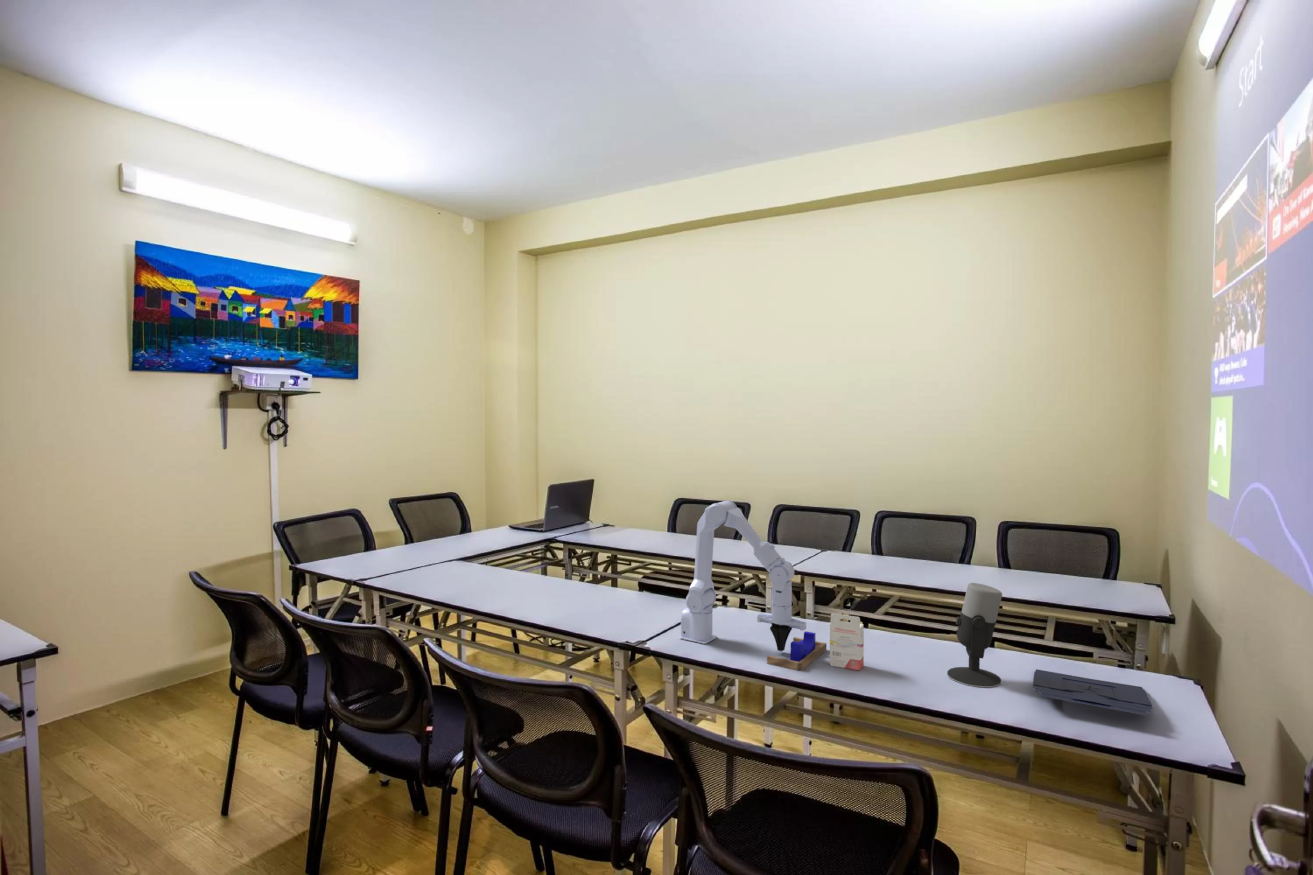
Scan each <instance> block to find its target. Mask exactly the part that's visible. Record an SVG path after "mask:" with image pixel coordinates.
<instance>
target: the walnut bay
mask: <svg viewBox="0 0 1313 875" xmlns="http://www.w3.org/2000/svg"><path fill="white" fill-rule="evenodd" d="M792 641H794V642H799V641H803V637H795V636H794V637H793V638H792ZM826 651H827V643H826V642H821V641H817V640H815V650H813V651H812V652H811V653H810V654H808V655H807V656H806V657H805V658H803V659H802V660H801V661H799V662H797V661H793V660H790V659H788V658H784V657H778V656H773V655H767V656H766V657H767V658H766V659H767V660H766V661H767V662H766V663H767V664H768V665H771V666H772V665H773V666H775V667H776V666H777V667H781V668H786V669H790V670H795V671H799V672H801V671H803V670H804V669H805V668H807V667H808V666H809V665H810V664H811V663H812V662H814V661H815V660H816V659H818V657H820V656H821V655H822V654H823V653H824V652H826Z"/></svg>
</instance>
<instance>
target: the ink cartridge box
mask: <svg viewBox="0 0 1313 875" xmlns="http://www.w3.org/2000/svg"><path fill="white" fill-rule="evenodd" d="M844 619H846V620H847V621H843V620H844ZM864 637H865V636H864V624H863V623H861V618H860V616H853V615H847V614H837V613H831V614H830V624H829V665H830V666H831V667H836V668H843V669H849V670H855V671H861V670H862V668H863V667H864V659H865V658H864V657H865V656H864V654H865V653H864V652H865V651H864V650H865V648H864V644H865V643H864V640H865V639H864Z"/></svg>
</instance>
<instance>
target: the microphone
mask: <svg viewBox="0 0 1313 875" xmlns="http://www.w3.org/2000/svg"><path fill="white" fill-rule="evenodd" d="M1002 597H1003V593H1002V591H1001V590H999V589H997V588H995V587H993V586H989V585H986V584H983V583H978V582H970V583H968V584H967V588H966V591H965V596H964V600H963V604H962V607H961V612H960V616H957V617H956V620H955V625H957V629H955V632H956V638H957V640H958V642H959V643H960V644H961V645H962V646H963V647H965V651H966V654H967V656H968V666H956V667H950V668H949V669H948V670H947V674H946V675H947V677H948V678H949V679H951V680H952V681H953V682H955V683H958V684H961V685H965V686H968V687H973V688H974V687H975V688H995V687H998V686H1000V685H1001V684H1002V679H1001V677H1000V676H999V675H998V674H996V673H994V672H992V671H989V670H986V669H982V668H980V660H981V659H984V657H985V650H987V649H988V648H989V647H990V646H991V644H992V641H993V636H994V631H995V627H996V625H997V617H998V614H999V610H1000V605H1001V601H1002V599H1003V598H1002Z"/></svg>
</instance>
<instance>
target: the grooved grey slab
mask: <svg viewBox="0 0 1313 875" xmlns="http://www.w3.org/2000/svg"><path fill="white" fill-rule="evenodd" d="M1032 679H1033V681H1032V689H1034V692H1035V693H1039V695H1040V697H1045V698H1050V699H1054V700H1061V701H1066V702H1070V703H1071V702H1072V703H1077V704H1082V705H1087V706H1094V707H1099V708H1103V709H1108V710H1109V709H1110V710H1115V711H1119V712H1120V711H1121V712H1125V713H1131V714H1135V715H1136V714H1137V715H1141V716H1147V717H1148V715H1147V713H1150V714H1152V713H1153V711H1152V710H1154V708H1153V704H1152V701H1151V699H1150V698H1149V696H1148V693H1147V691H1146V690H1145V689H1144V688H1143V686H1137V685H1132V684H1125V683H1121V682H1120V683H1119V682H1114V681H1108V680H1107V681H1106V680H1101V679H1095V678H1089V677H1082V676H1077V675H1072V674H1067V673H1066V674H1065V673H1059V672H1054V671H1049V670H1042V669H1035V670H1034V673H1033V678H1032Z"/></svg>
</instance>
